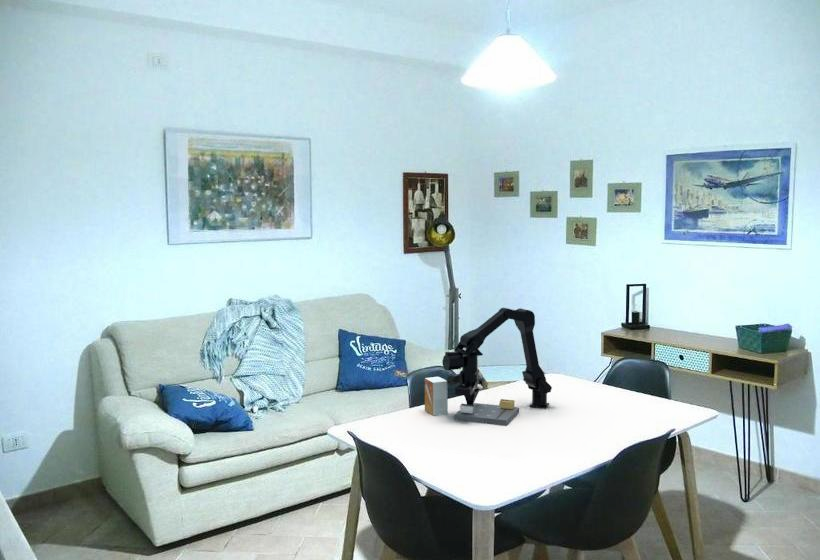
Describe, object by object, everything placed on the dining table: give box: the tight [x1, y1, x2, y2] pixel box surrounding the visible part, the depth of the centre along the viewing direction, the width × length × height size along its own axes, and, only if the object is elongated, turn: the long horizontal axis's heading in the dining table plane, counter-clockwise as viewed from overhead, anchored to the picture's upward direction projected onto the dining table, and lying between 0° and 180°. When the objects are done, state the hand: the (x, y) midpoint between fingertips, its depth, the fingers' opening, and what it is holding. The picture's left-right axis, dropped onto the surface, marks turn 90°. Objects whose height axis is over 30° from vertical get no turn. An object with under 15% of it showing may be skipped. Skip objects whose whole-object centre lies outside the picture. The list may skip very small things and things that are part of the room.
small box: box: [424, 376, 449, 416], centre depth 279 cm, size 8×6×13 cm
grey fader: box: [459, 403, 475, 414], centre depth 271 cm, size 3×5×3 cm, turn 67°
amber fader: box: [499, 398, 516, 409], centre depth 277 cm, size 3×5×3 cm, turn 67°
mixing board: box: [453, 402, 520, 427], centre depth 274 cm, size 18×20×2 cm
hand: (469, 408), depth 274 cm, fingers closed
